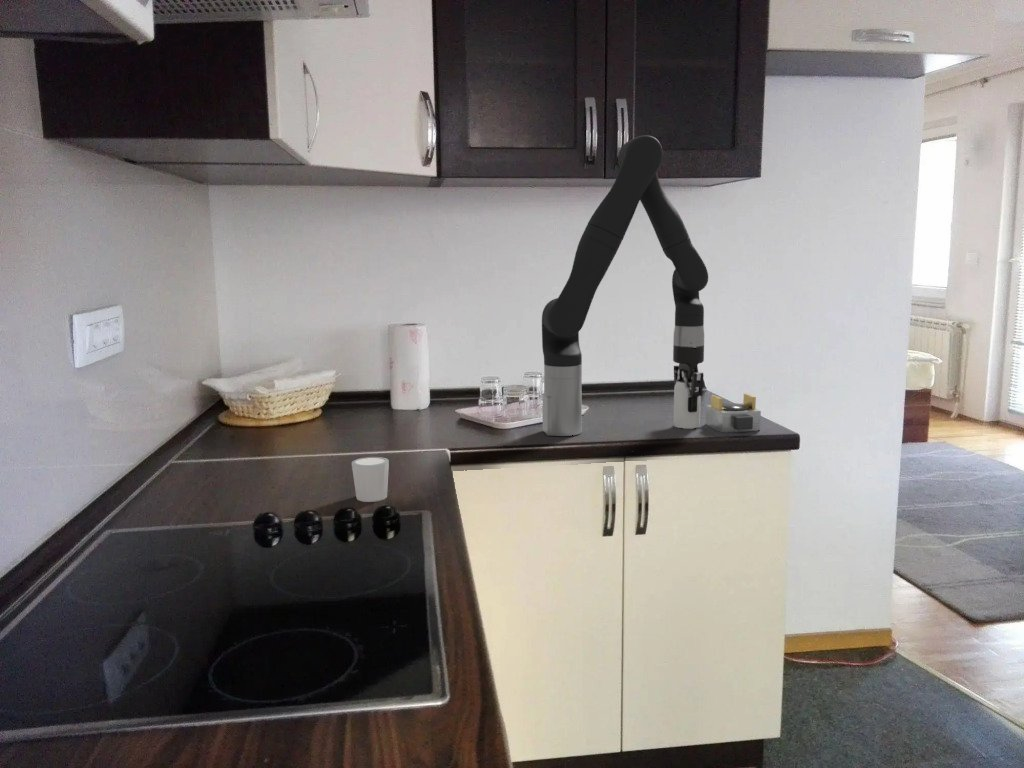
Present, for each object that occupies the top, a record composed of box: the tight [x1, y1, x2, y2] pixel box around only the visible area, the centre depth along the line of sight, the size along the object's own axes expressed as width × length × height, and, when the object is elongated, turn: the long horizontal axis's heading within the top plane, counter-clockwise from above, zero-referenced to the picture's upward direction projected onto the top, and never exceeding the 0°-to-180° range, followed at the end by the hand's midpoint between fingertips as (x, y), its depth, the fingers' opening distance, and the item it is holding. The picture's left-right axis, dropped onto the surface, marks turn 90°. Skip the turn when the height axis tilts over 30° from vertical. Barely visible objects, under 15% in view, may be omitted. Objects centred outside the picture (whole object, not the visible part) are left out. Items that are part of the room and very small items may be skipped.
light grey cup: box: [351, 456, 390, 503], centre depth 150 cm, size 7×7×7 cm
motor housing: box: [705, 393, 762, 433], centre depth 201 cm, size 10×12×8 cm
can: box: [673, 379, 701, 430], centre depth 203 cm, size 6×6×12 cm
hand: (687, 409), depth 203 cm, fingers closed on can, 6 cm apart
